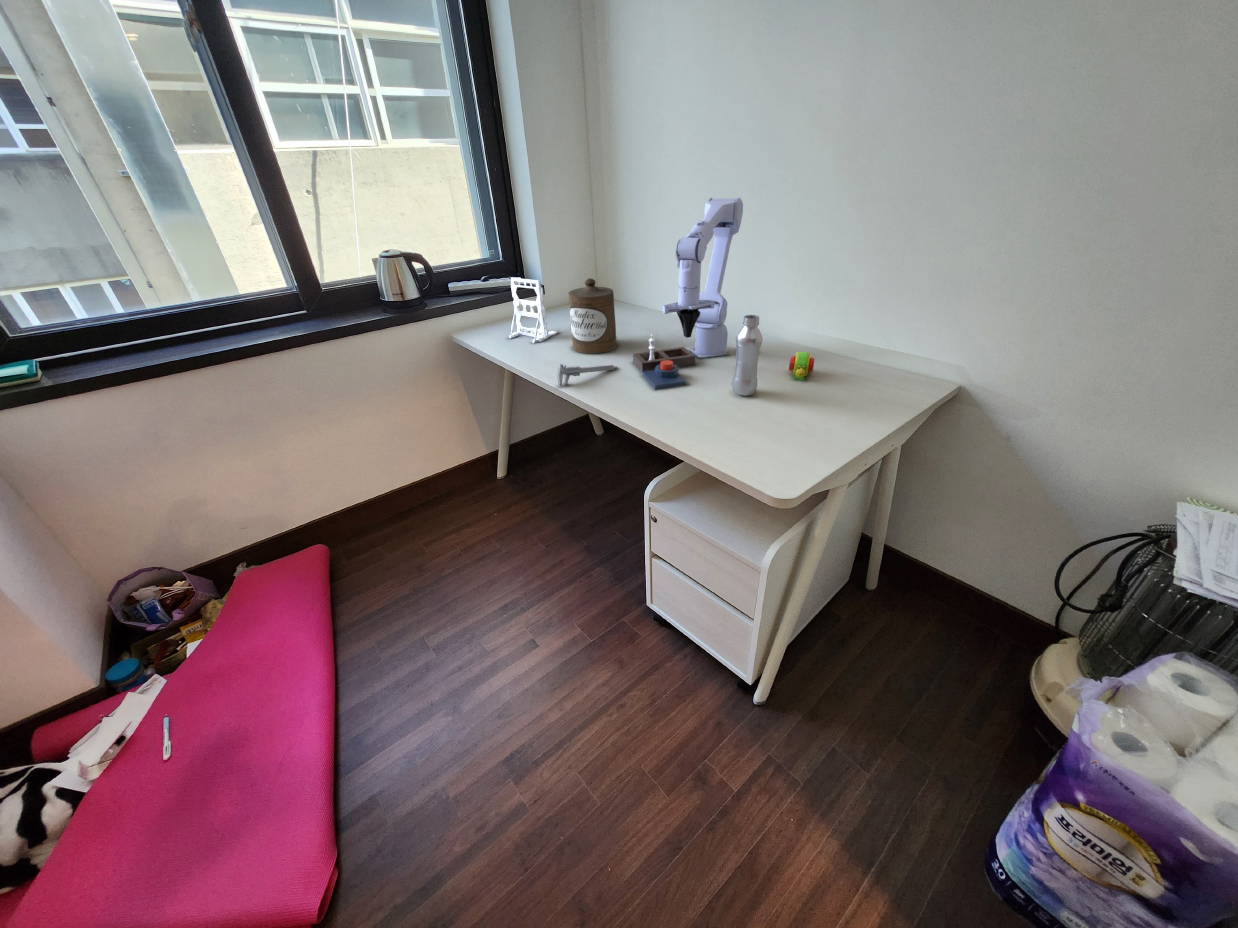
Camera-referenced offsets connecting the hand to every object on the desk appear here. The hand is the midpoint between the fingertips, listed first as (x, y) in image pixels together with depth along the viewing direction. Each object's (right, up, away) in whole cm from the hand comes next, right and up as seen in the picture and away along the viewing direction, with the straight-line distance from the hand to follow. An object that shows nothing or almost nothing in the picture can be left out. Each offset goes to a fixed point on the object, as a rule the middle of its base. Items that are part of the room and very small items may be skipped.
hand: (687, 336), depth 136 cm
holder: (-6, -5, +11) cm, 14 cm away
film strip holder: (-51, +11, +41) cm, 66 cm away
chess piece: (-9, -6, +10) cm, 15 cm away
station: (-7, -12, 0) cm, 14 cm away
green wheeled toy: (+33, -9, +3) cm, 35 cm away
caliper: (-28, -11, +5) cm, 31 cm away
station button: (-6, -9, +1) cm, 11 cm away
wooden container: (-28, +4, +28) cm, 39 cm away
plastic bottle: (+14, -18, -9) cm, 24 cm away
